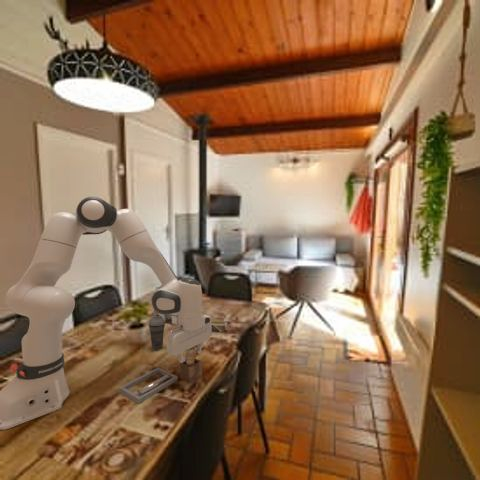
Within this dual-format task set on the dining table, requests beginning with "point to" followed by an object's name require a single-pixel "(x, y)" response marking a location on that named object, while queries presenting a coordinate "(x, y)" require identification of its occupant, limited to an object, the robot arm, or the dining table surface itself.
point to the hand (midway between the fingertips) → (190, 357)
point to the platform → (218, 325)
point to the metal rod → (153, 385)
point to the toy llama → (168, 316)
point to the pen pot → (190, 371)
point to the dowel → (190, 357)
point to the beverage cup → (156, 331)
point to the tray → (140, 399)
